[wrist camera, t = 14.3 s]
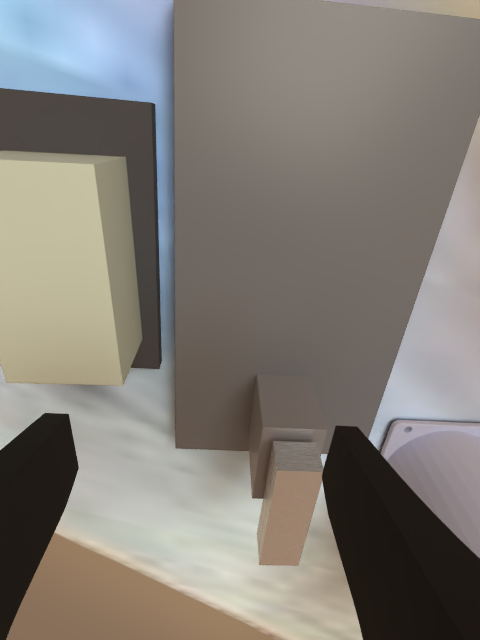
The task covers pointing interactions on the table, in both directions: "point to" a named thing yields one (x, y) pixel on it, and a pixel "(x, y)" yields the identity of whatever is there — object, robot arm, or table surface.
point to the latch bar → (288, 501)
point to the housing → (306, 208)
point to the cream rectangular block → (66, 269)
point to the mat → (104, 140)
